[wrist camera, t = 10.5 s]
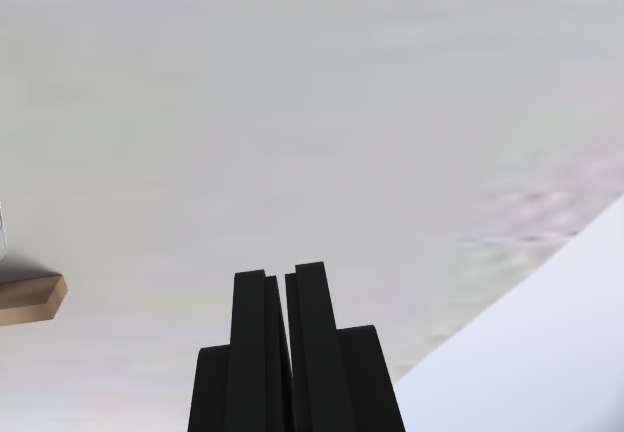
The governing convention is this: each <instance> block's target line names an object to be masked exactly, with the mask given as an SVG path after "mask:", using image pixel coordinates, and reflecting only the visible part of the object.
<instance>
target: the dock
mask: <svg viewBox="0 0 624 432" xmlns="http://www.w3.org/2000/svg"><path fill="white" fill-rule="evenodd" d="M67 291H68V289H67V286H66V284H65V281H64V279H63V276H62V275H59V276H51V277H43V278H36V279H28V280H21V281H13V282H6V283H0V326H7V325H14V324H22V323H29V322H37V321H44V320H51V319H53V318H54V316H55V314H56V312H57V310H58V308H59V306H60V304H61V302H62V301H63V299H64V297H65V295H66V293H67Z"/></svg>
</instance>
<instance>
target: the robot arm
mask: <svg viewBox="0 0 624 432" xmlns="http://www.w3.org/2000/svg"><path fill="white" fill-rule="evenodd" d="M295 269H296V273H290V274H285V283H286V296H287V309H288V322H289V335H290V348H291V361H292V371H291V364H290V358H289V352H288V346H287V339H286V333H285V327H284V321H283V314H282V308H281V302H280V296H279V289H278V283H277V278H276V275H275V276H268V277H266V275H265V271H264V269H263V270H255V271H248V272H240V273H235V277H234V292H233V307H232V322H231V337H230V344H228V345H221V346H214V347H207V348H201V349H200V351H199V354H198V360H197V367H196V374H195V381H194V388H193V396H192V403H191V410H190V417H189V424H188V431H187V432H406V431H405V428H404V424H403V421H402V418H401V414H400V411H399V407H398V404H397V401H396V397H395V393H394V390H393V387H392V383H391V380H390V376H389V373H388V369H387V366H386V363H385V359H384V356H383V352H382V349H381V345H380V342H379V339H378V335H377V332H376V329H375V327H374V325H367V326H360V327H352V328H345V329H338V330H337V329H336V324H335V319H334V314H333V309H332V303H331V298H330V293H329V288H328V283H327V278H326V273H325V267H324V263H323V262H315V263H308V264H300V265H295ZM292 374H293V377H292Z"/></svg>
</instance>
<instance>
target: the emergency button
mask: <svg viewBox="0 0 624 432" xmlns="http://www.w3.org/2000/svg"><path fill="white" fill-rule="evenodd" d="M6 253H7V243H6V237H5V230H4V223H3V216H2V210H1V203H0V261H1V260H2V259H3V258H4V257H5V256H6Z"/></svg>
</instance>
